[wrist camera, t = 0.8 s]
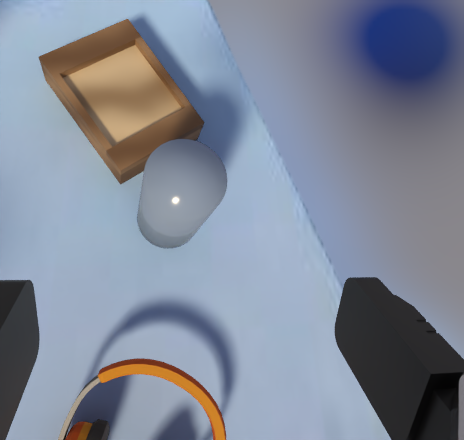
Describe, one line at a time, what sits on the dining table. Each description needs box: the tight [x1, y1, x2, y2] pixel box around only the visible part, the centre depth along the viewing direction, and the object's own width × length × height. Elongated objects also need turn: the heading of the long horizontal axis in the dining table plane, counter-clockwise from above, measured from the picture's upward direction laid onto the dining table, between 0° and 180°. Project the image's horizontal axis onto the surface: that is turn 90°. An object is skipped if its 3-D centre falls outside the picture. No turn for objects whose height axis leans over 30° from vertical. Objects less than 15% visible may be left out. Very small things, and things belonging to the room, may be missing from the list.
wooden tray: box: [39, 19, 204, 184], centre depth 37 cm, size 12×9×4 cm
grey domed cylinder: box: [137, 139, 227, 248], centre depth 32 cm, size 6×6×11 cm
